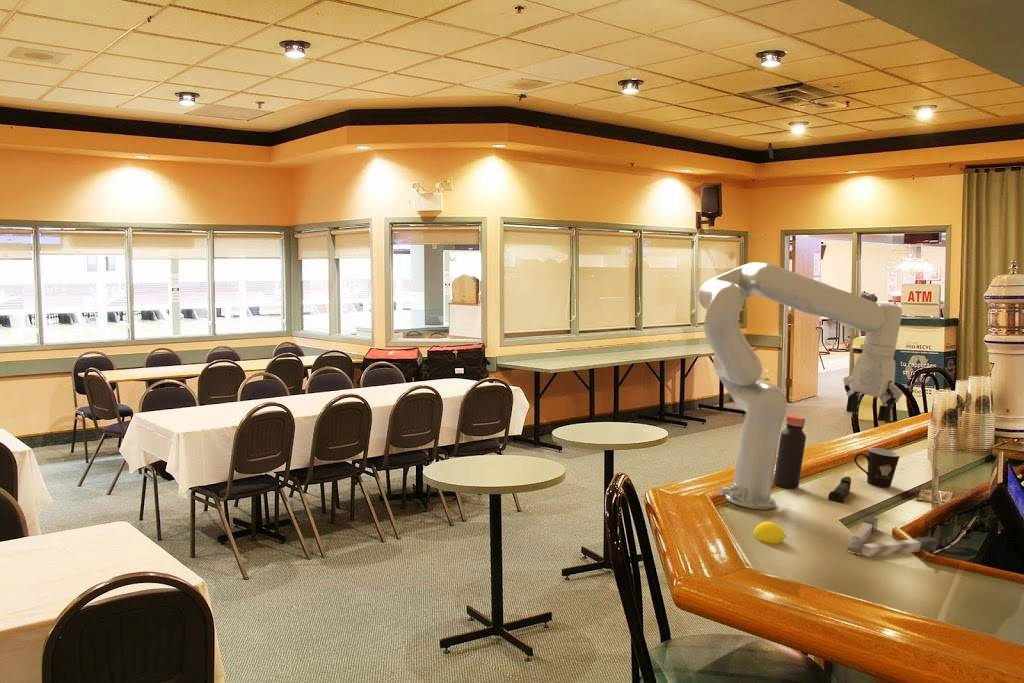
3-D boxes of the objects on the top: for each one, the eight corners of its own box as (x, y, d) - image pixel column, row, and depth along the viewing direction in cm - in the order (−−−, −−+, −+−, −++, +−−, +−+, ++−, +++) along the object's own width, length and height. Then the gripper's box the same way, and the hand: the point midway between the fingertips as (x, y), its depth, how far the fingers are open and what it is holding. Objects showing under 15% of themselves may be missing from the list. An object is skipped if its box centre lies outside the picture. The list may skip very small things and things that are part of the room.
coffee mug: (896, 485, 246) (901, 453, 244) (892, 491, 239) (897, 458, 237) (855, 475, 252) (860, 444, 251) (850, 481, 245) (855, 449, 243)
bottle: (803, 488, 232) (813, 419, 229) (788, 490, 228) (798, 420, 225) (783, 480, 237) (793, 413, 235) (768, 482, 233) (778, 414, 231)
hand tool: (842, 507, 217) (845, 491, 217) (826, 503, 219) (829, 487, 219) (856, 493, 233) (859, 478, 232) (842, 490, 235) (844, 474, 235)
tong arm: (860, 548, 182) (861, 537, 182) (849, 545, 183) (851, 534, 183) (876, 528, 197) (878, 518, 197) (866, 526, 198) (868, 516, 198)
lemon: (750, 546, 181) (750, 522, 181) (756, 540, 186) (756, 517, 185) (782, 551, 177) (782, 527, 177) (788, 545, 182) (788, 521, 182)
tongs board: (871, 571, 172) (874, 554, 172) (801, 536, 190) (803, 520, 190) (959, 561, 184) (962, 544, 184) (885, 528, 202) (887, 514, 202)
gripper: (841, 345, 216) (829, 408, 218) (898, 357, 201) (885, 424, 203) (860, 346, 220) (848, 408, 222) (917, 358, 205) (905, 424, 207)
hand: (866, 416), depth 213 cm, fingers open, 9 cm apart
